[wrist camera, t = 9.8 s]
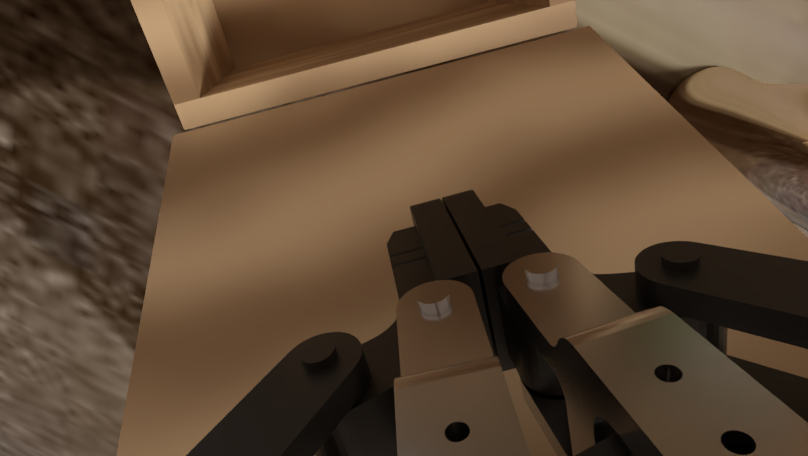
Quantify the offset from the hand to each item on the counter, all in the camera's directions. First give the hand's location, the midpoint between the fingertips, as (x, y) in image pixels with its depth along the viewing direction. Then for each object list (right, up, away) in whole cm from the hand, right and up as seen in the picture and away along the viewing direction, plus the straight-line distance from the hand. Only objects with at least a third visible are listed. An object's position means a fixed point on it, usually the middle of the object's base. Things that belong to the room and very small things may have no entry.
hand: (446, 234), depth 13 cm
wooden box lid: (0, 0, +3) cm, 3 cm away
